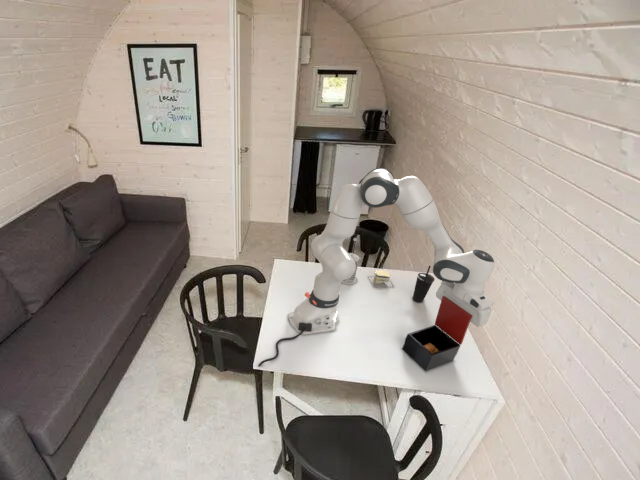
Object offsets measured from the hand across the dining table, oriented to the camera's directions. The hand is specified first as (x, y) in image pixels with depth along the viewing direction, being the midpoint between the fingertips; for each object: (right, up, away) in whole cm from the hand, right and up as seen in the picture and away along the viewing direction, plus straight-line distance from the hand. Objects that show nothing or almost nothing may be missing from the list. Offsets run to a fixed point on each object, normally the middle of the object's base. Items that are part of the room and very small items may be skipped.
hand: (454, 319), depth 138 cm
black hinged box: (-7, -16, +7) cm, 18 cm away
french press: (-27, +14, +52) cm, 60 cm away
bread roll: (-8, -15, +6) cm, 18 cm away
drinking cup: (+4, +4, +37) cm, 38 cm away
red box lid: (-1, 0, -1) cm, 2 cm away
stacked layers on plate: (-9, +12, +50) cm, 52 cm away
